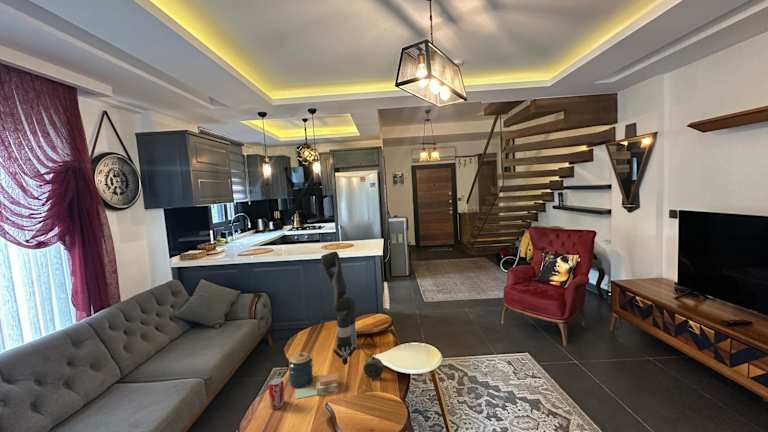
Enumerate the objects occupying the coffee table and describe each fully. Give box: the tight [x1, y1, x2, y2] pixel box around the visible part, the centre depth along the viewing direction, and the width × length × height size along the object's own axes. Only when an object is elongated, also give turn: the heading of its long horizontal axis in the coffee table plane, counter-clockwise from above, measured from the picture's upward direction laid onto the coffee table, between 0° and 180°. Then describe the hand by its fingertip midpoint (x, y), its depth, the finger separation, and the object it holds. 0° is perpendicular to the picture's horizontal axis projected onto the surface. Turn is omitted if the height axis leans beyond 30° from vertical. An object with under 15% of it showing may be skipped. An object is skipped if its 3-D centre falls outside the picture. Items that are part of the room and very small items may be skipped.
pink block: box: [318, 372, 338, 386], centre depth 174 cm, size 9×6×2 cm, turn 107°
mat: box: [294, 385, 317, 400], centre depth 171 cm, size 11×8×1 cm
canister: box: [288, 350, 314, 389], centre depth 180 cm, size 13×13×18 cm
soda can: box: [268, 376, 285, 410], centre depth 161 cm, size 7×7×13 cm
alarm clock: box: [363, 351, 384, 382], centre depth 180 cm, size 11×5×16 cm, turn 77°
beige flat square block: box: [314, 377, 339, 397], centre depth 174 cm, size 11×10×4 cm
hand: (345, 364), depth 176 cm, fingers closed
